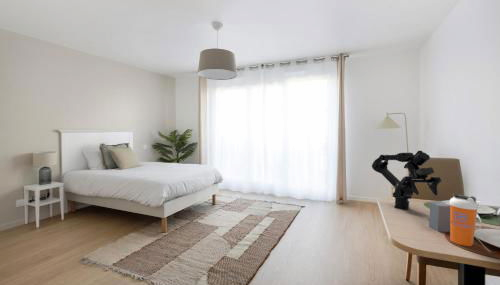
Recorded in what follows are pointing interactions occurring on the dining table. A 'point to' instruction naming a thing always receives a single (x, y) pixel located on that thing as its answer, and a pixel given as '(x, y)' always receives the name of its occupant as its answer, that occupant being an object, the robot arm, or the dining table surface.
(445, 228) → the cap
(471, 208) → the shaker bottle
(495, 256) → the dining table surface
